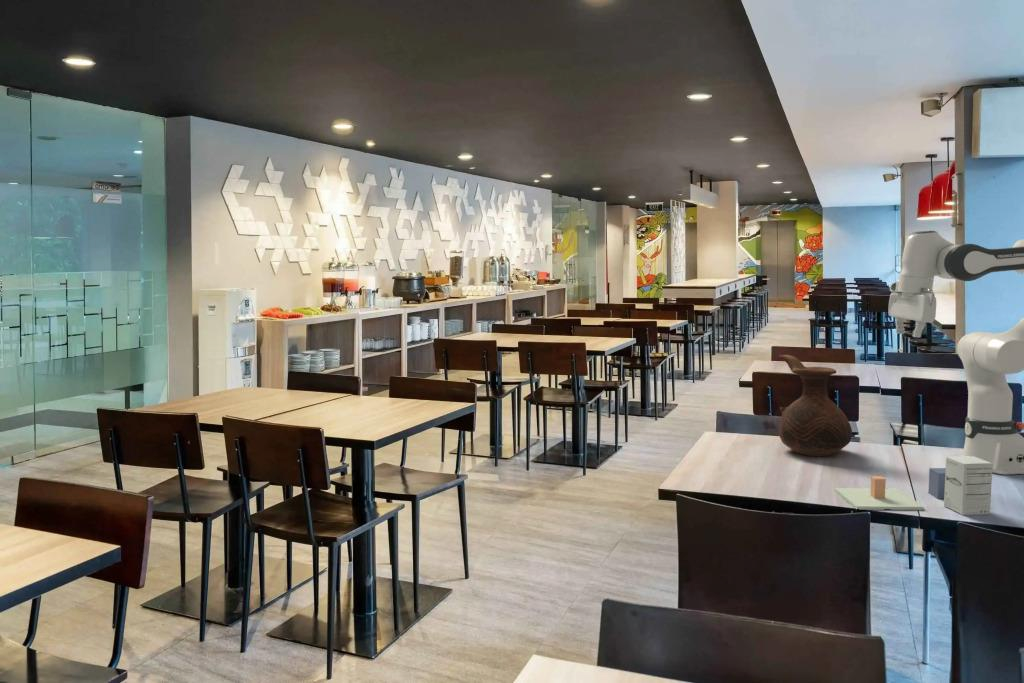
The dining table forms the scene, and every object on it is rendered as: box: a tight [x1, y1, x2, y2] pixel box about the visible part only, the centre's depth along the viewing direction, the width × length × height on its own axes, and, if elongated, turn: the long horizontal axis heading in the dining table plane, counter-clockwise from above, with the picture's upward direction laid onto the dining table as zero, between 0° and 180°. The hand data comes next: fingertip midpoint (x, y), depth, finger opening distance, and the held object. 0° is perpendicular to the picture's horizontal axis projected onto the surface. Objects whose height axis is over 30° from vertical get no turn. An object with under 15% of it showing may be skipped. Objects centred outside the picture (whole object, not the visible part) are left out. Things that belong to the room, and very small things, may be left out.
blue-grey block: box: [928, 467, 946, 500], centre depth 208 cm, size 5×5×7 cm
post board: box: [834, 475, 925, 511], centre depth 205 cm, size 16×16×6 cm
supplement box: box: [943, 455, 993, 516], centre depth 196 cm, size 7×7×13 cm
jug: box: [777, 354, 853, 457], centre depth 256 cm, size 22×22×30 cm
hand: (907, 335), depth 234 cm, fingers open, 8 cm apart
